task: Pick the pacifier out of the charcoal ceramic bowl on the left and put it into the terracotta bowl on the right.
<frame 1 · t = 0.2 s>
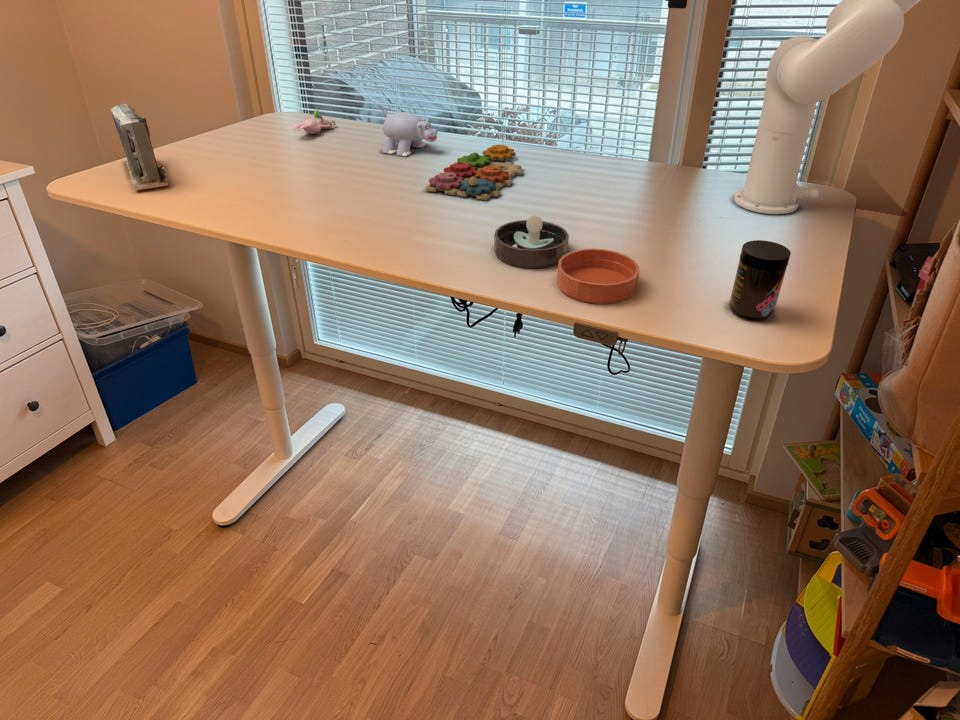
hand: (674, 4, 125), 37 cm above the table, tool pointing down, fingers open, 9 cm apart
terracotta bowl: (596, 285, 114), on the table
gear puzzle: (484, 175, 158), on the table
rabbit figure: (315, 134, 184), on the table
supplement container: (750, 312, 107), on the table
radio: (143, 176, 157), on the table
charcoal bowl: (530, 252, 124), on the table
hippopotamus toy: (409, 150, 172), on the table
pacifier: (530, 251, 124), resting on charcoal bowl
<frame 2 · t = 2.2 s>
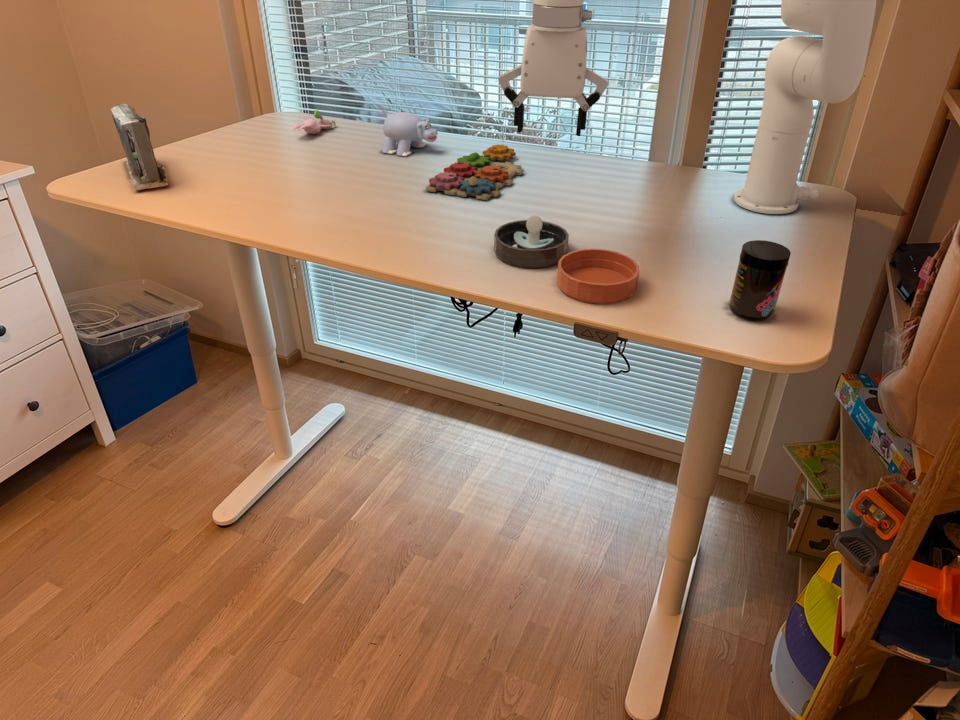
hand: (549, 132, 114), 21 cm above the table, tool pointing down, fingers open, 9 cm apart
nothing on the table moved.
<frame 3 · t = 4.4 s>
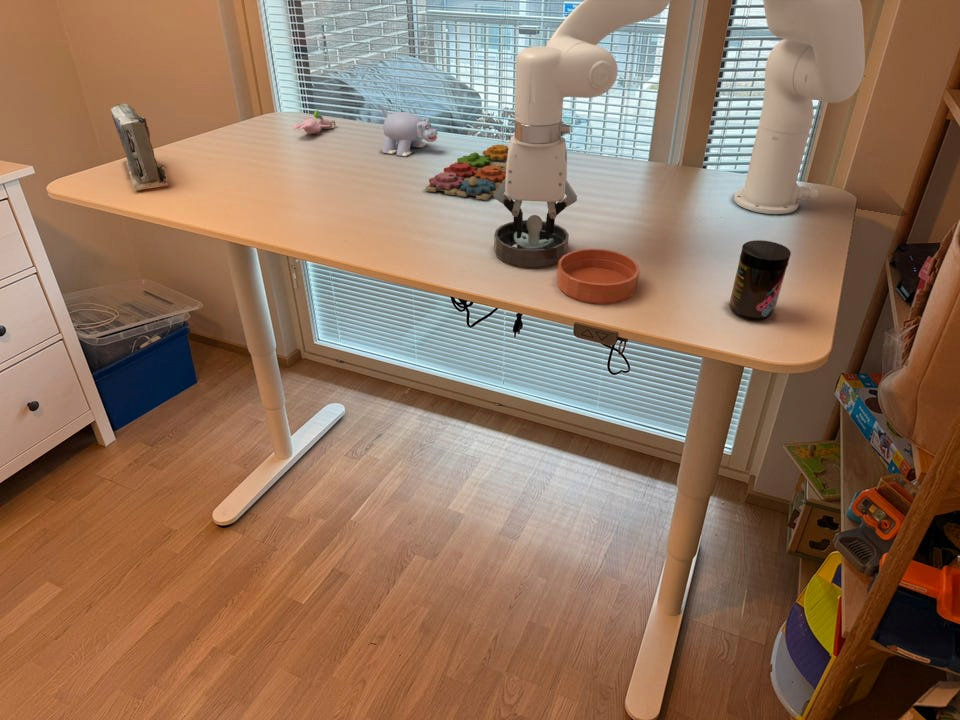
hand: (533, 235, 122), 3 cm above the table, tool pointing down, fingers open, 4 cm apart
pacifier: (530, 251, 124), resting on charcoal bowl, touching gripper
everything else where it was.
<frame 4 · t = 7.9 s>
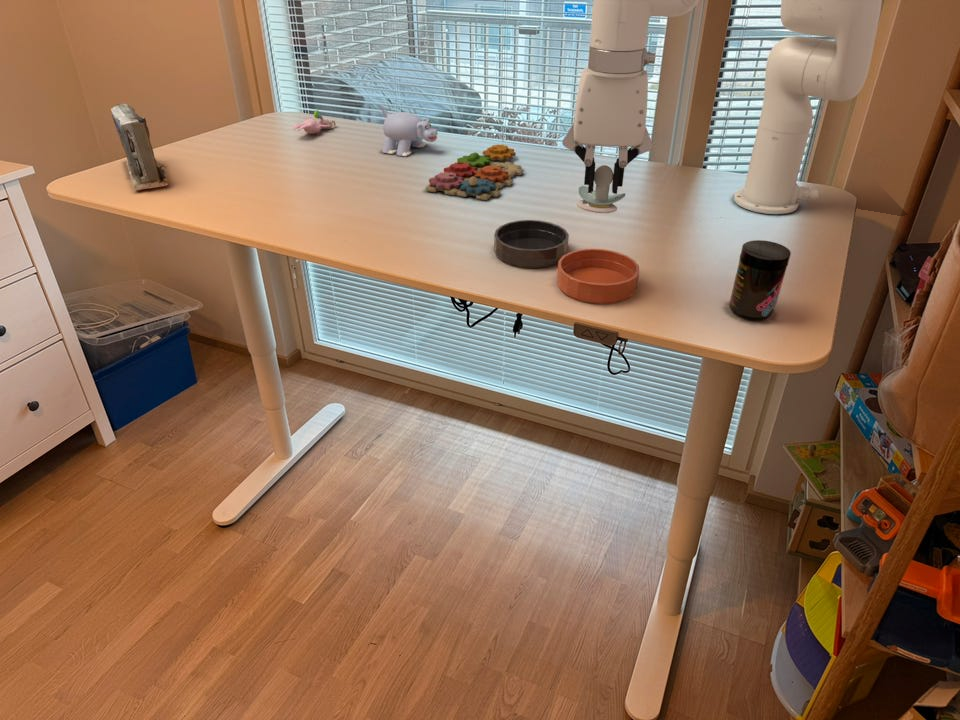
hand: (602, 188, 105), 16 cm above the table, tool pointing down, fingers closed on pacifier, 3 cm apart
pacifier: (598, 208, 107), point 13 cm above the table, touching gripper
everything else where it was.
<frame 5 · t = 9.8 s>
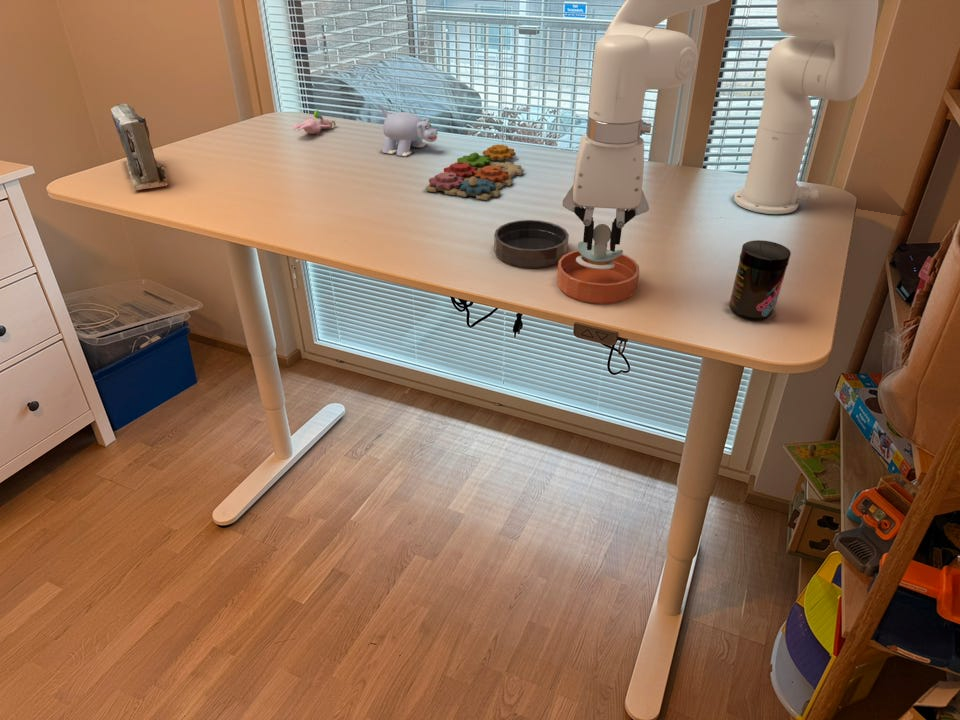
hand: (600, 246, 110), 7 cm above the table, tool pointing down, fingers closed on pacifier, 3 cm apart
pacifier: (596, 264, 112), point 4 cm above the table, touching gripper
everything else where it was.
when the fingers open (3 cm above the table, at t = 10.9 s): pacifier stays where it is, resting on terracotta bowl.
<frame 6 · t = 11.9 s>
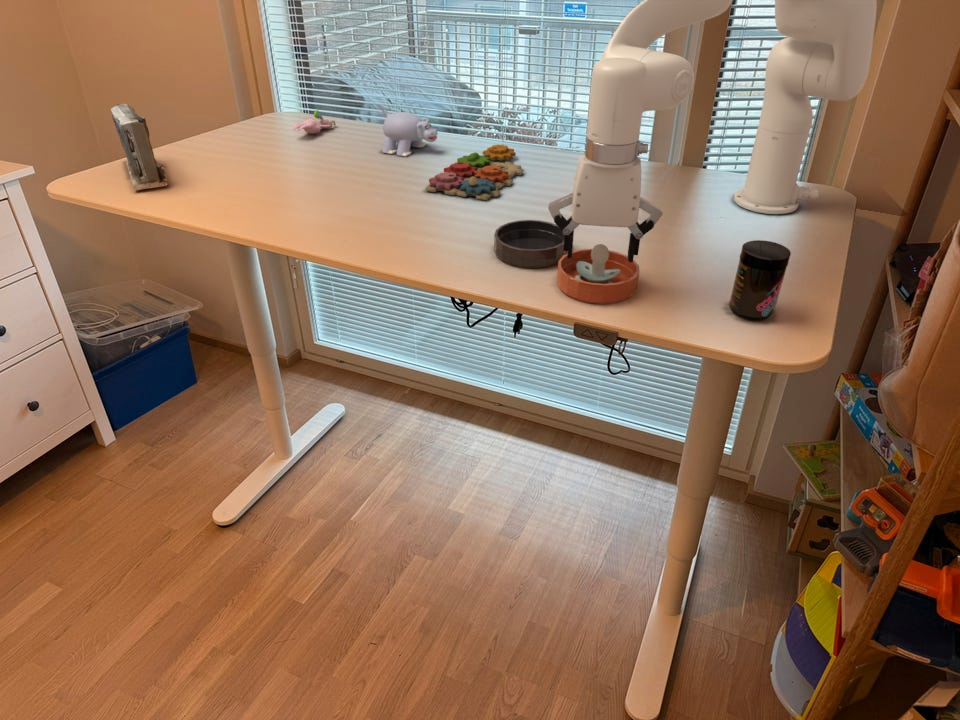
hand: (599, 256, 111), 5 cm above the table, tool pointing down, fingers open, 9 cm apart
pacifier: (594, 283, 114), resting on terracotta bowl
everything else where it was.
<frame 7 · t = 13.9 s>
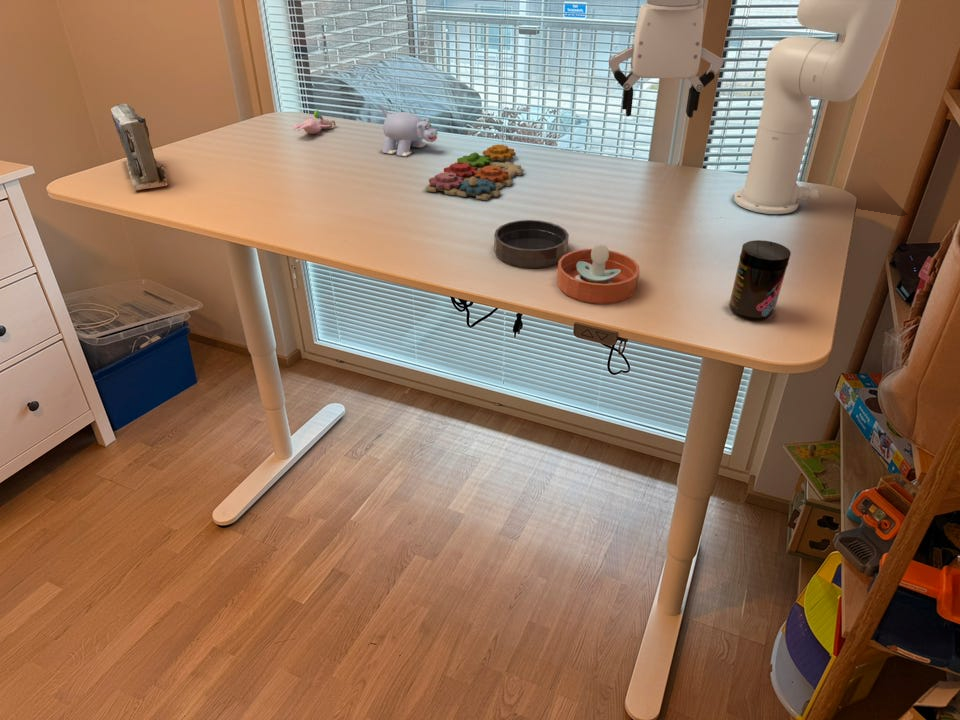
hand: (658, 114, 112), 24 cm above the table, tool pointing down, fingers open, 9 cm apart
nothing on the table moved.
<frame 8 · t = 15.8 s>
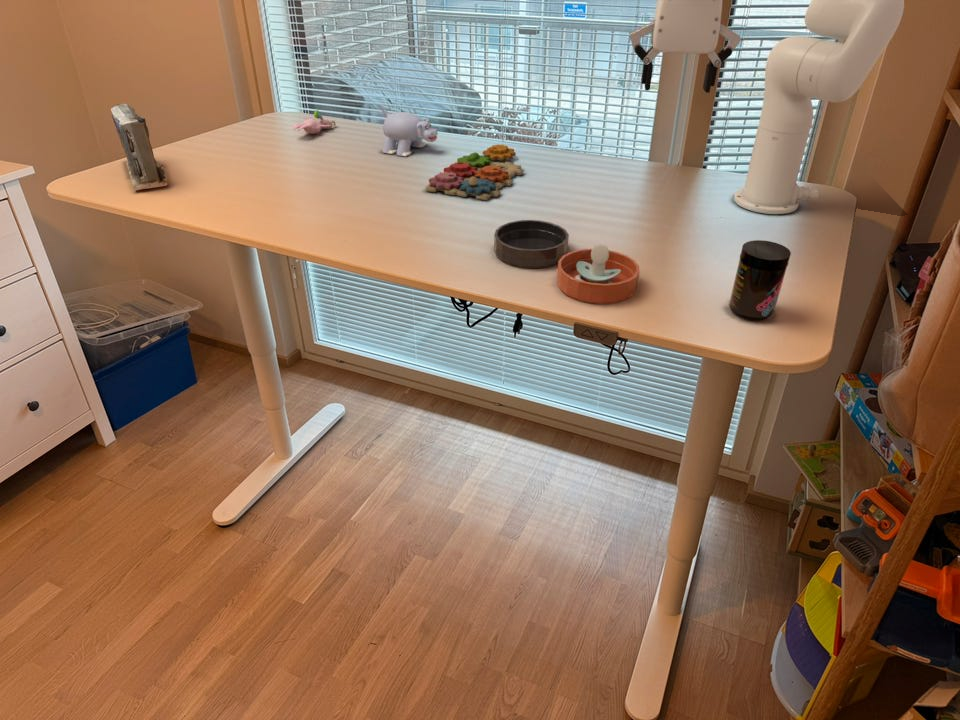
hand: (676, 89, 115), 26 cm above the table, tool pointing down, fingers open, 9 cm apart
nothing on the table moved.
at the end: pacifier inside the target area in the terracotta bowl (0.4 cm from its centre), point 0.2 cm above the terracotta bowl's base; pacifier moved 15.5 cm from its start; the gripper is holding nothing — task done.
